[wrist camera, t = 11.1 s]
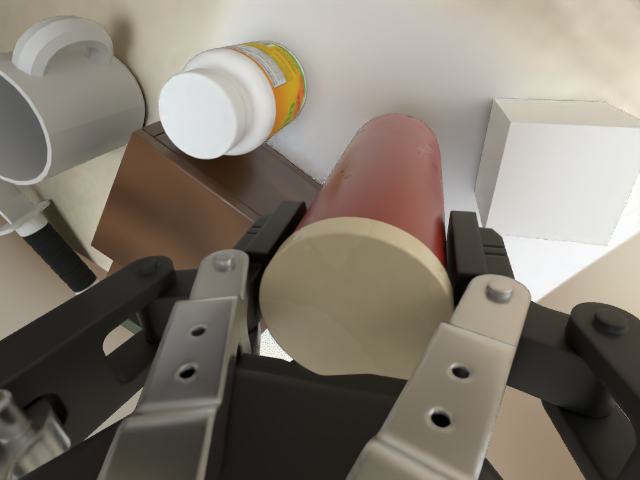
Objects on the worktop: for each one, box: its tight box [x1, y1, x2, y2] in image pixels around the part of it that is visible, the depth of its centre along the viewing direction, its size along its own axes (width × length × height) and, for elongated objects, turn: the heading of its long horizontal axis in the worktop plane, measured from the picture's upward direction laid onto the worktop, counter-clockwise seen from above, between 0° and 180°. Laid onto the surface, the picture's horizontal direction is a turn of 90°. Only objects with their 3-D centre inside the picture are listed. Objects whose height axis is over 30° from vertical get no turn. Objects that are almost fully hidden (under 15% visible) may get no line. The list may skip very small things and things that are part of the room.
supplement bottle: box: [158, 41, 307, 159], centre depth 22 cm, size 5×5×10 cm
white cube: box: [474, 98, 640, 246], centre depth 21 cm, size 6×6×6 cm
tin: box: [259, 114, 455, 380], centre depth 14 cm, size 5×5×12 cm
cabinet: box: [91, 121, 322, 334], centre depth 27 cm, size 10×13×9 cm
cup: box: [0, 16, 145, 185], centre depth 25 cm, size 7×10×9 cm
